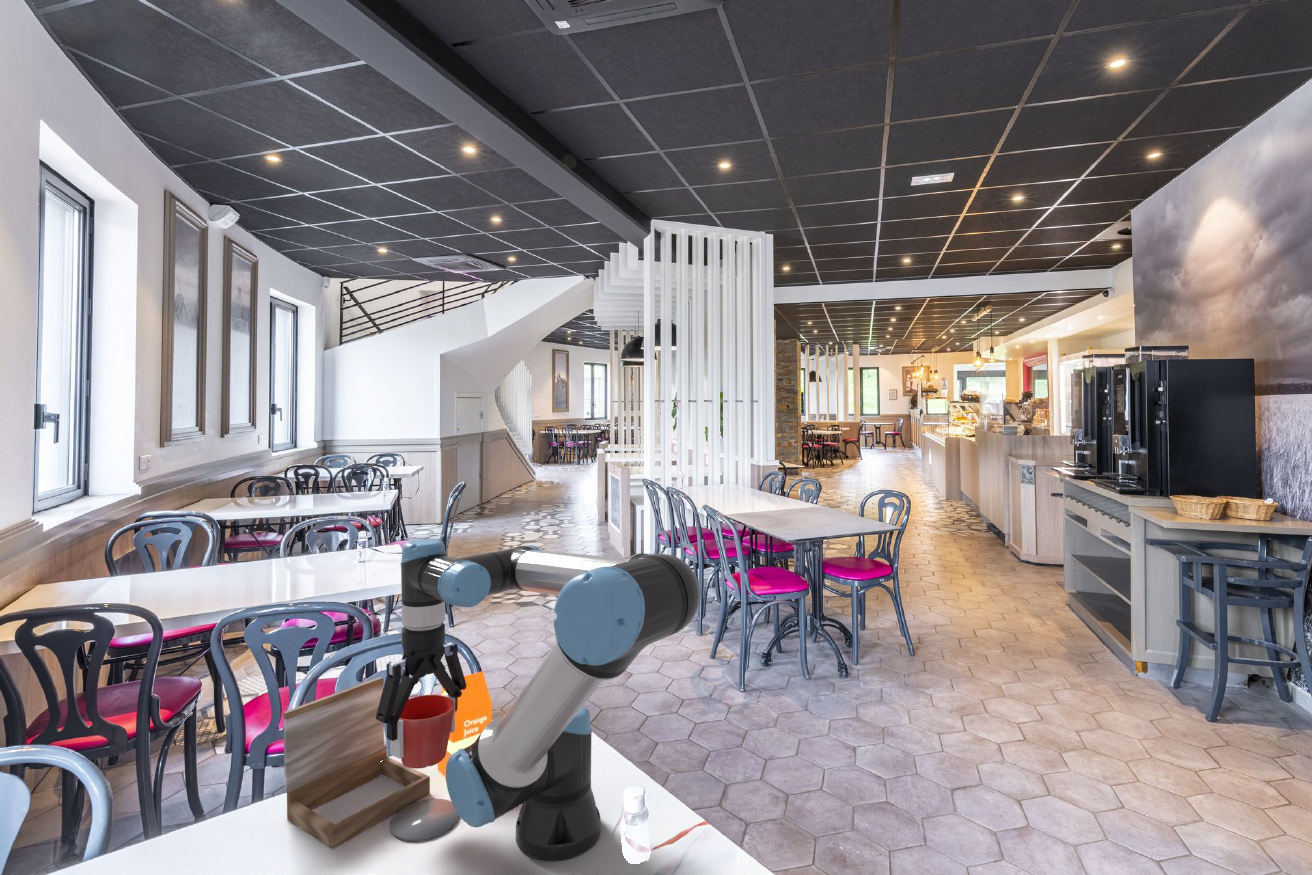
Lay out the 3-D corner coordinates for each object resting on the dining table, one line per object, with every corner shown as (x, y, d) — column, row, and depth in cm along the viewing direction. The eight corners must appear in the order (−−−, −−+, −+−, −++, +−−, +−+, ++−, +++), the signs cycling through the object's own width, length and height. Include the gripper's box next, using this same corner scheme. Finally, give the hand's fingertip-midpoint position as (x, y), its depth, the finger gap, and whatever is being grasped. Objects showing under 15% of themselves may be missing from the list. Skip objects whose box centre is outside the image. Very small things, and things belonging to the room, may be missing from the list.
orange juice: (436, 769, 138) (436, 676, 138) (475, 755, 144) (475, 665, 144) (453, 784, 132) (452, 687, 132) (492, 769, 138) (492, 676, 138)
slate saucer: (472, 815, 122) (472, 811, 122) (417, 850, 112) (417, 846, 112) (431, 794, 129) (431, 791, 129) (376, 826, 119) (376, 822, 119)
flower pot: (435, 777, 114) (435, 722, 114) (379, 769, 116) (379, 716, 116) (465, 747, 124) (465, 697, 124) (413, 740, 127) (413, 691, 126)
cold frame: (429, 793, 129) (429, 694, 129) (332, 849, 112) (331, 735, 112) (377, 767, 139) (376, 675, 138) (280, 815, 122) (279, 710, 121)
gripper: (460, 605, 131) (460, 713, 132) (352, 637, 112) (353, 763, 113) (486, 612, 127) (486, 723, 128) (378, 646, 108) (379, 777, 109)
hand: (423, 742), depth 120 cm, fingers closed on flower pot, 11 cm apart
